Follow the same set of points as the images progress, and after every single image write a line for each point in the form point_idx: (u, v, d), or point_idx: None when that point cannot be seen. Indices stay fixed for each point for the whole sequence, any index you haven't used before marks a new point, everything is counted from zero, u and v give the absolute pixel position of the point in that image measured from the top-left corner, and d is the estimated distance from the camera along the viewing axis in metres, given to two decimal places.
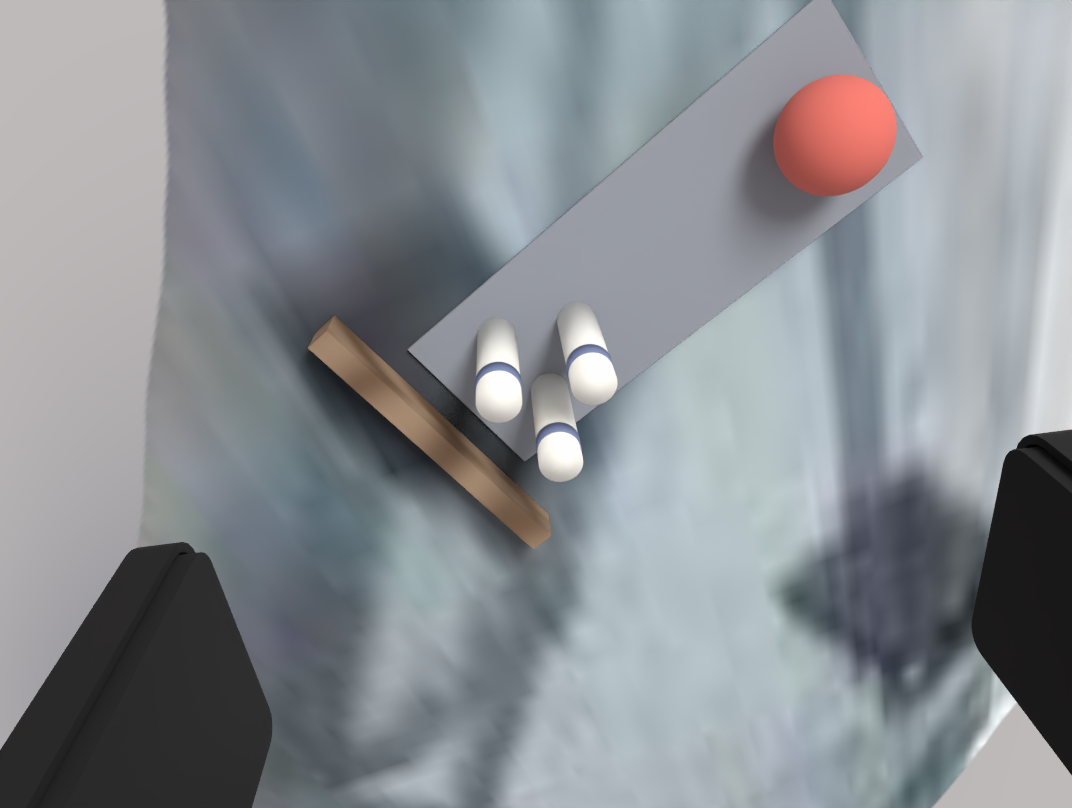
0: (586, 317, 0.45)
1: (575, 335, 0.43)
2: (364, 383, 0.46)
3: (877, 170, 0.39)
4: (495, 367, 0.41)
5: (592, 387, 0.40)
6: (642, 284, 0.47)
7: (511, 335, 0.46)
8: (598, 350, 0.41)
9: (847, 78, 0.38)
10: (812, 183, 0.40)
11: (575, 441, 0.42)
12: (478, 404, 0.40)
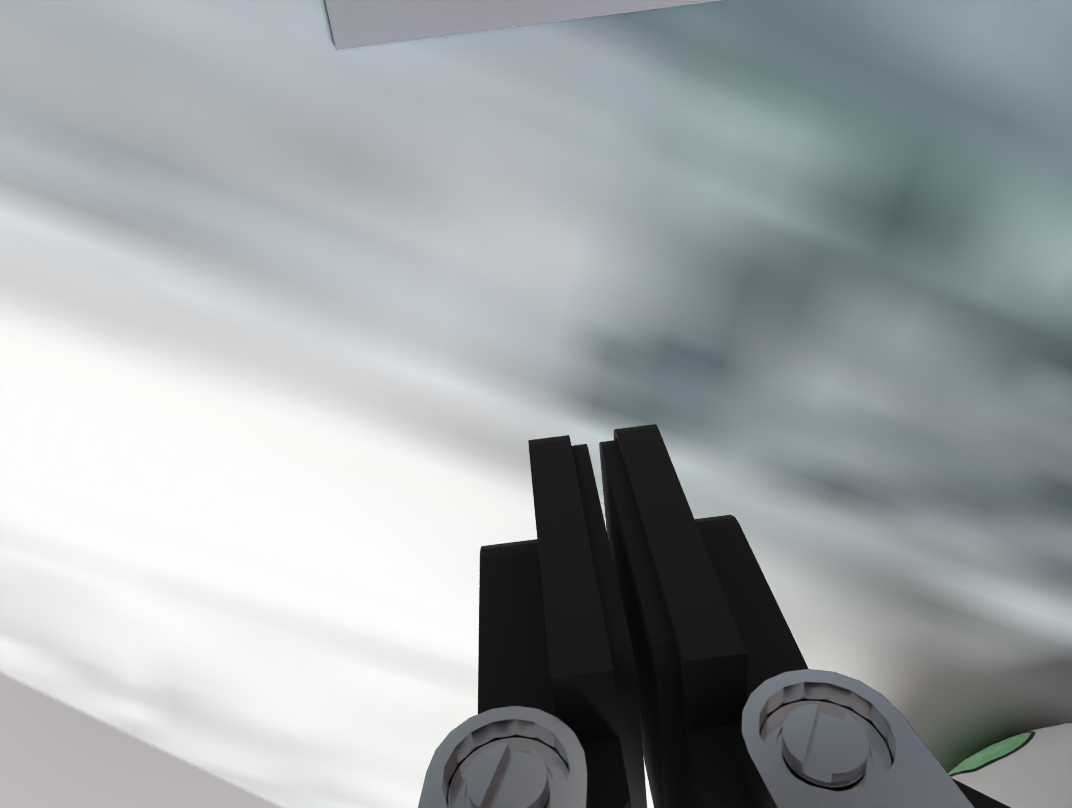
0: None
1: None
2: None
3: None
4: None
5: None
6: None
7: None
8: None
9: None
10: None
11: None
12: None
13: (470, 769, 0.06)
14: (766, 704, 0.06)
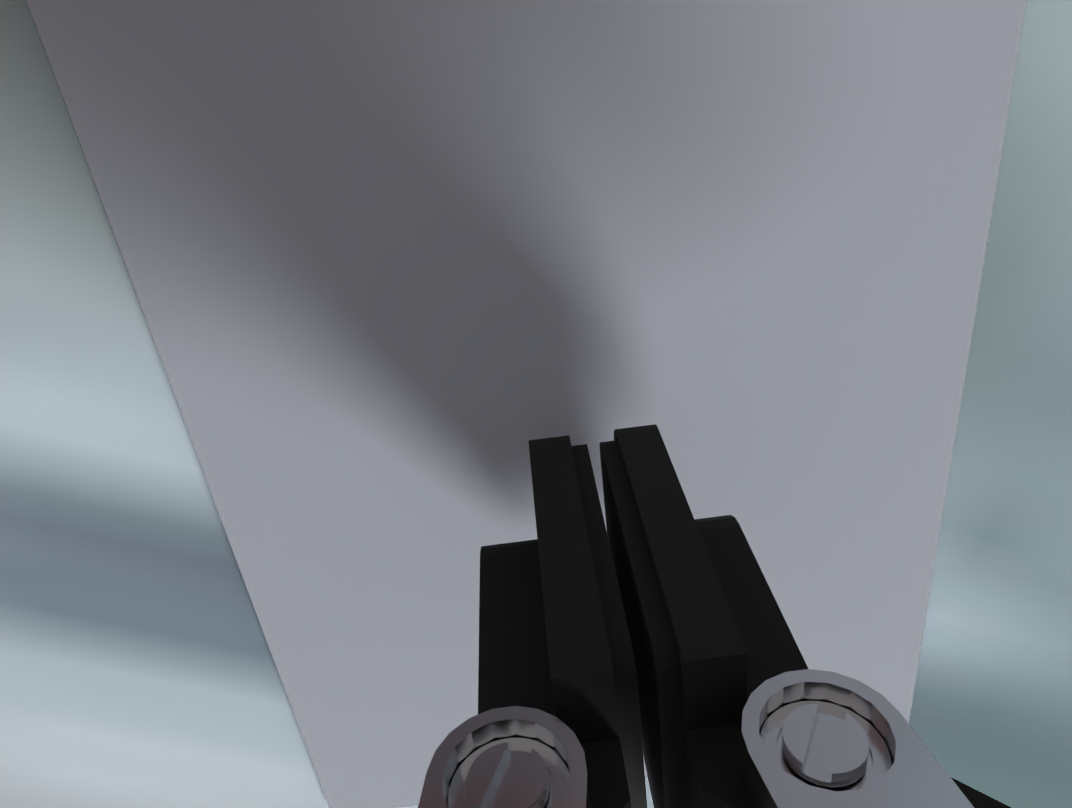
0: None
1: None
2: None
3: None
4: None
5: None
6: None
7: None
8: None
9: None
10: None
11: None
12: None
13: (470, 769, 0.06)
14: (766, 704, 0.06)
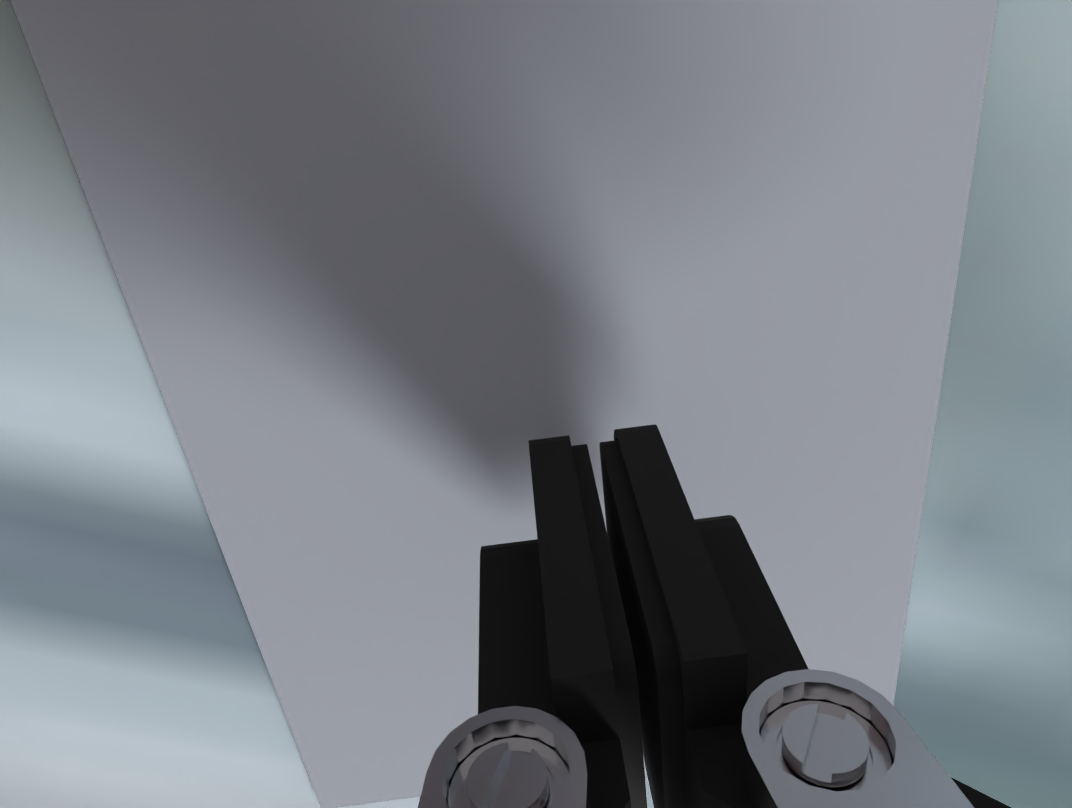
0: None
1: None
2: None
3: None
4: None
5: None
6: None
7: None
8: None
9: None
10: None
11: None
12: None
13: (470, 769, 0.06)
14: (766, 704, 0.06)
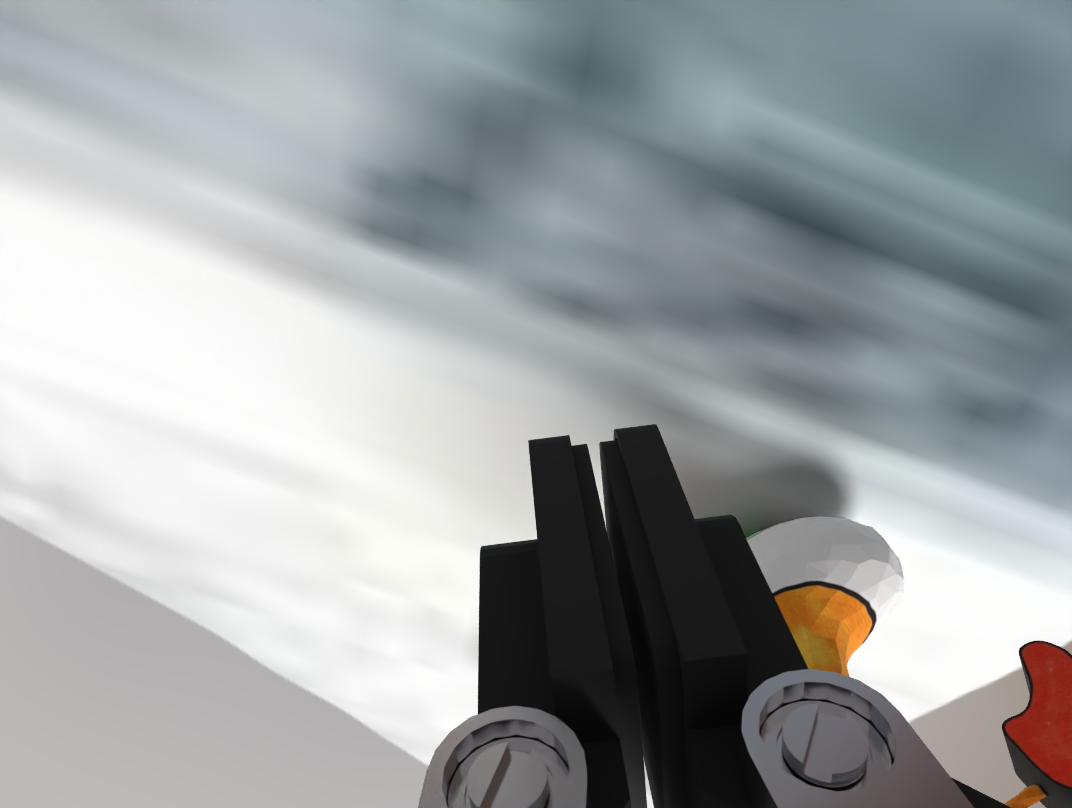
0: None
1: None
2: None
3: None
4: None
5: None
6: None
7: None
8: None
9: None
10: None
11: None
12: None
13: (470, 769, 0.06)
14: (766, 704, 0.06)
